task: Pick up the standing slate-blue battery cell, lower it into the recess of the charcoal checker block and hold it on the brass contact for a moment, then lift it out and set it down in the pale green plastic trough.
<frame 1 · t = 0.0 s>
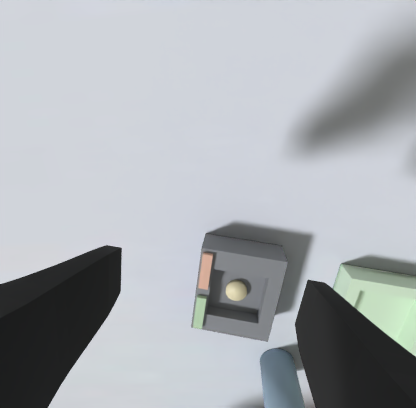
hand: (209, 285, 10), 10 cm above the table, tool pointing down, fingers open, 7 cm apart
trough: (365, 321, 21), on the table
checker: (236, 277, 21), on the table
cell: (276, 361, 23), on the table
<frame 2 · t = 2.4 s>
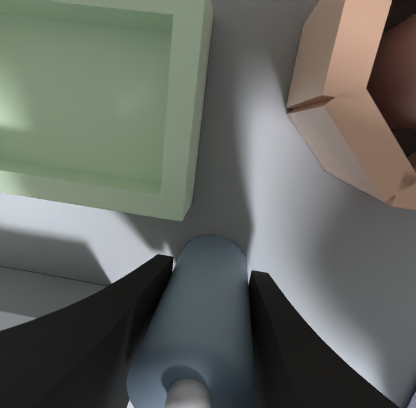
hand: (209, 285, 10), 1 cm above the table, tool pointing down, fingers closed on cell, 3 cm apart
cup: (395, 80, 8), on the table
trough: (77, 102, 10), on the table
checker: (46, 324, 13), on the table
cell: (212, 266, 11), on the table, touching gripper
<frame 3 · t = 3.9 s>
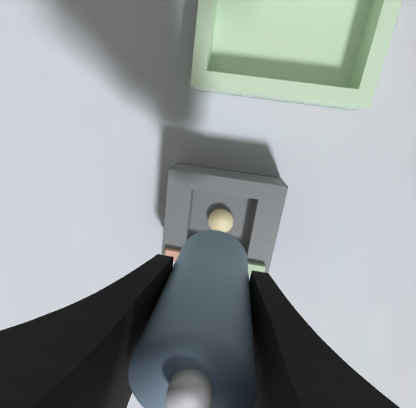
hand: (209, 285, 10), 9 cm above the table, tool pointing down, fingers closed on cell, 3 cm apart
trough: (284, 37, 15), on the table
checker: (222, 212, 18), on the table
cell: (213, 261, 11), point 7 cm above the table, touching gripper
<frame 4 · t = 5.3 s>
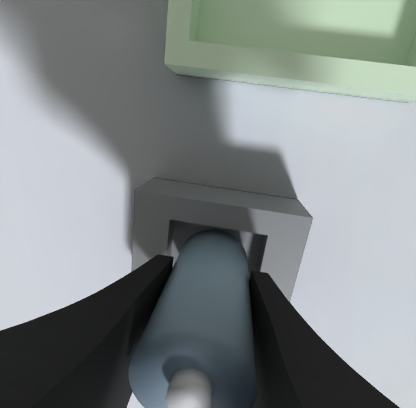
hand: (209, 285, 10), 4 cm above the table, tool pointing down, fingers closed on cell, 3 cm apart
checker: (216, 244, 13), on the table
cell: (213, 261, 11), point 2 cm above the table, touching gripper
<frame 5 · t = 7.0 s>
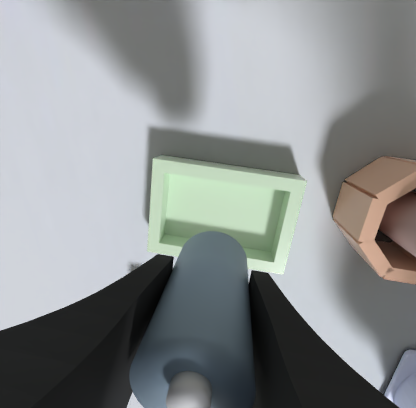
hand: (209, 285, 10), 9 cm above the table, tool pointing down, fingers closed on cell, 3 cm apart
cup: (386, 207, 17), on the table
trough: (222, 209, 19), on the table
cell: (212, 262, 11), point 8 cm above the table, touching gripper
when the fingers open (3 cm above the table, at t = 8.5 s): cell stays where it is, resting on trough.
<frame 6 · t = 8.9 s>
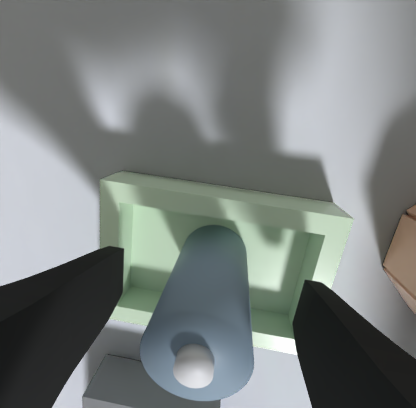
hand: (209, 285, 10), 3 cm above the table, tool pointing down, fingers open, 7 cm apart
trough: (215, 251, 12), on the table
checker: (159, 401, 16), on the table
cell: (214, 254, 12), point 1 cm above the table, touching trough
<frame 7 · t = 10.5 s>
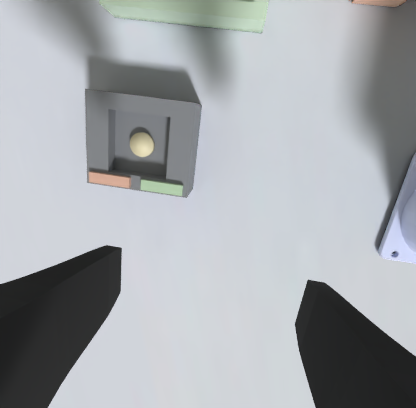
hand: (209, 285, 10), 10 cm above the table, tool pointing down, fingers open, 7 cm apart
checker: (150, 142, 19), on the table
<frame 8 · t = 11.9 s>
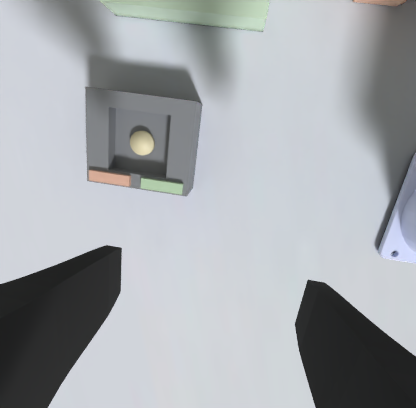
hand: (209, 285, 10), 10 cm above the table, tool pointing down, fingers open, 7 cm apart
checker: (150, 141, 19), on the table
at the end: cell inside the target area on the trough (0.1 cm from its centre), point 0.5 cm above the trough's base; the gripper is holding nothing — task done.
